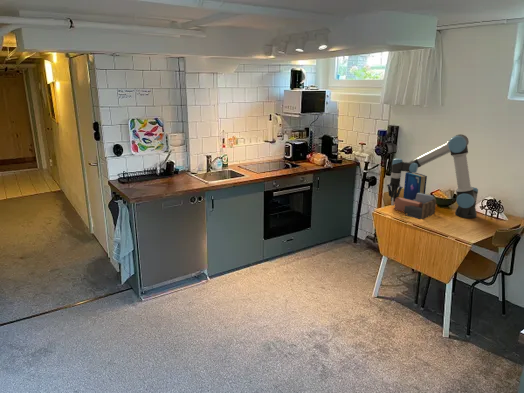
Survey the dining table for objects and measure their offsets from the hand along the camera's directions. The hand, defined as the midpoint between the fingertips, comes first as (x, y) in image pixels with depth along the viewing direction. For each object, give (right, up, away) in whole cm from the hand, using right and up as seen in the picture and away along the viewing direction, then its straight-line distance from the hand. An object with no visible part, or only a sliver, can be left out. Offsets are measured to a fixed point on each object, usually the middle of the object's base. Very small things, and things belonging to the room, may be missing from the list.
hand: (392, 204), depth 329 cm
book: (+24, +3, +19) cm, 31 cm away
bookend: (+9, -8, -20) cm, 23 cm away
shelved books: (+21, -6, -11) cm, 25 cm away
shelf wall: (+21, -9, -21) cm, 30 cm away
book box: (+9, -5, -9) cm, 13 cm away
